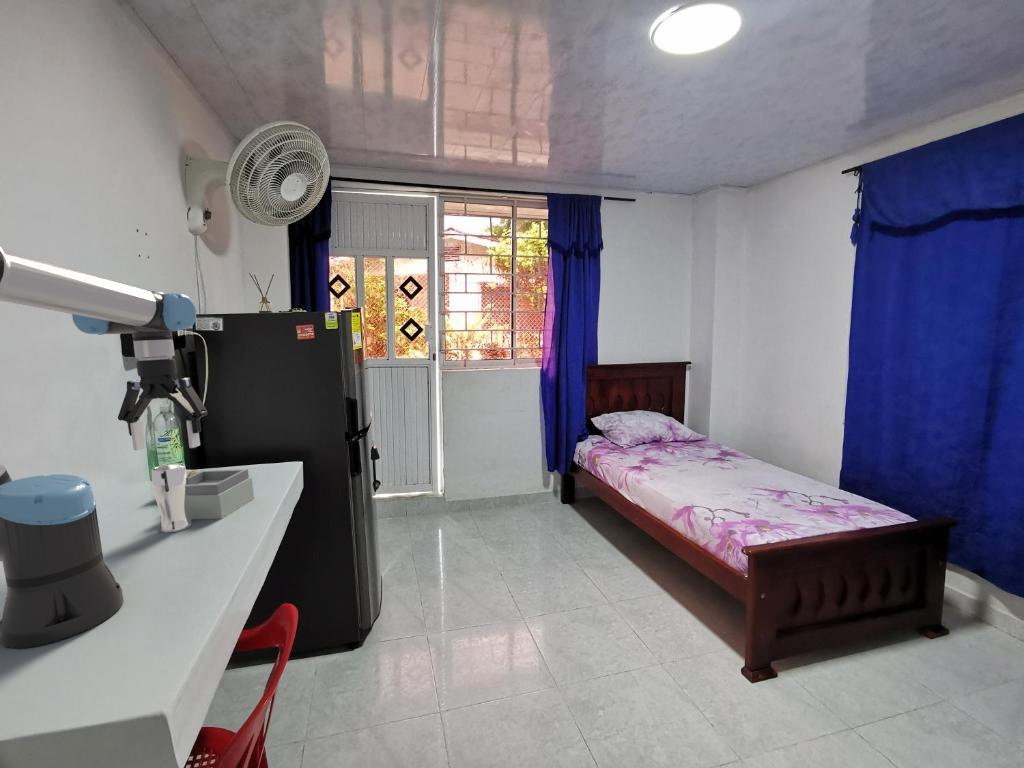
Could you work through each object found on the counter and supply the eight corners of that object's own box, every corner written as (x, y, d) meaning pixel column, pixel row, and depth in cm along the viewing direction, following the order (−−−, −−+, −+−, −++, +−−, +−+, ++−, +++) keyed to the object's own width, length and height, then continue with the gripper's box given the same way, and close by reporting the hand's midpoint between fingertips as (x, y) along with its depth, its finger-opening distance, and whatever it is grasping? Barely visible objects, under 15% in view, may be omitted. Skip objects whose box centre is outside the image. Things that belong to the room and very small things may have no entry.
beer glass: (190, 530, 117) (181, 468, 115) (155, 536, 114) (145, 473, 113) (196, 519, 123) (188, 461, 122) (163, 525, 121) (155, 465, 119)
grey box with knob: (222, 518, 123) (217, 485, 122) (156, 520, 124) (152, 487, 123) (254, 498, 137) (250, 468, 136) (195, 500, 138) (191, 470, 137)
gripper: (217, 355, 119) (227, 442, 121) (117, 360, 120) (129, 446, 122) (196, 357, 111) (207, 449, 114) (90, 362, 113) (103, 453, 115)
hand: (167, 448), depth 118 cm, fingers open, 13 cm apart
